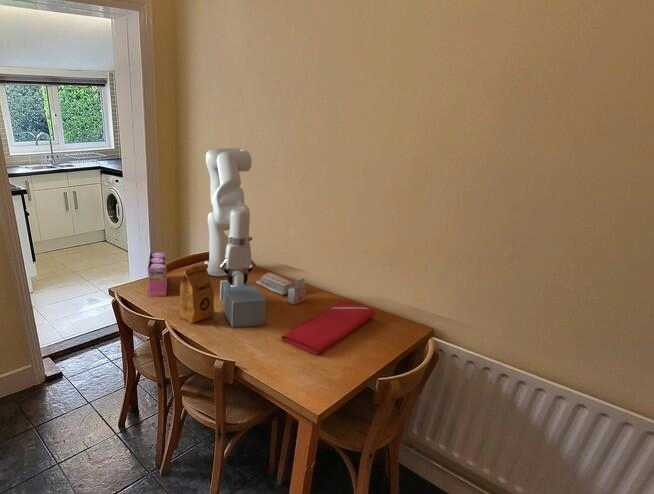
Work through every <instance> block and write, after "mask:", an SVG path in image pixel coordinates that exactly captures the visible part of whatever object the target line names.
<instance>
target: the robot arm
mask: <svg viewBox="0 0 654 494" xmlns="http://www.w3.org/2000/svg"><path fill="white" fill-rule="evenodd" d="M252 163H253V161H252V155H251V153H250V152H249V151H248V150H246V149H245V148H242V147H241V148H240V147H239V148H238V147H235V148H234V147H233V148H232V147H231V148H227V147H226V148H225V147H224V148H223V147H222V148H212V149H209V150H208V151H207V152H206V154H205V165H206V167H207V171H208V174H209V178H210V204H211V207H212V211H211V212H209V213H208V215H207V225H208V236H209V243H208V244H209V245H208V246H209V249H208V253H209V255H208V256H209V257H208V259H209V260H208V261H207V260H205V261H204V263H203V264H206V263H207V264H208V268H207V271H208V274H209V276H211V277H216V278H217V277H218V278H221V277H227V280H228V282H229V284H230V285H232V274H233V272H234V270H242V269H243V272H242V273H243V274H244V284H246V281H247V282H248V280H249V279H248V277H249V274H250V273H251V272H252V271H253V270H254V269H255V268H256V267H257V264H256V262H255V261H253V260H252V249H251V248H252V247H251V243H250V242H251V241H253V237H252V236H250V222H251V221H250V220H251V211H250V210H251V209H250V208H249V207H248V205H247V204H245V192H244V190H243V188H242V187H241V184H242V180H241V175H240V174H241V173H242V172H244V173H245V172H249V171H250V170H251V168H252ZM225 231H229V237H228V235H227V234H226V233H225Z"/></svg>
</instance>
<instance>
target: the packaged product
mask: <svg viewBox="0 0 654 494" xmlns="http://www.w3.org/2000/svg"><path fill="white" fill-rule="evenodd" d="M255 284H257V285H259V286H262V287H264V288H266V289H267V290H269V291H271V292H275V293H277V294H280V295H282V296H286V295H288V289H289V287H290V286H291V284H292V281H291V280H289V279H287V278H285V277H283V276H280V275H277V274H276V273H272V272H266V273H265V274H264V275H262V276H260V279H259V280H257V281H255Z"/></svg>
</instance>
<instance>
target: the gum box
mask: <svg viewBox="0 0 654 494" xmlns="http://www.w3.org/2000/svg"><path fill="white" fill-rule="evenodd" d="M147 278H148V280H147V281H148V295H149V297H165V296H167V292H168V291H167V288H168V269H167V252H166V251H162V252H153V251H150V253H149V260H148V266H147Z"/></svg>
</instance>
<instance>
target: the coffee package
mask: <svg viewBox="0 0 654 494" xmlns="http://www.w3.org/2000/svg"><path fill="white" fill-rule="evenodd" d="M207 269H208V264H207V263H206V264H204V263H203V264H199V265H193V266H191V267H189V268H185V269H184V272H183V274H182V277H181V280H180V286H179V297H180V299H179V300H180V302H179V303H180V304H179V305H180V318H181V319H183V320H186V321H187V322H189V323H193V324H194V323H197V322H199V321H202V320H206V319H208V318H211V317H214V314H215V303H214V300H215V292H214V285H213V283H212V280H211V278H210V275H209V274H208V271H207Z"/></svg>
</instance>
